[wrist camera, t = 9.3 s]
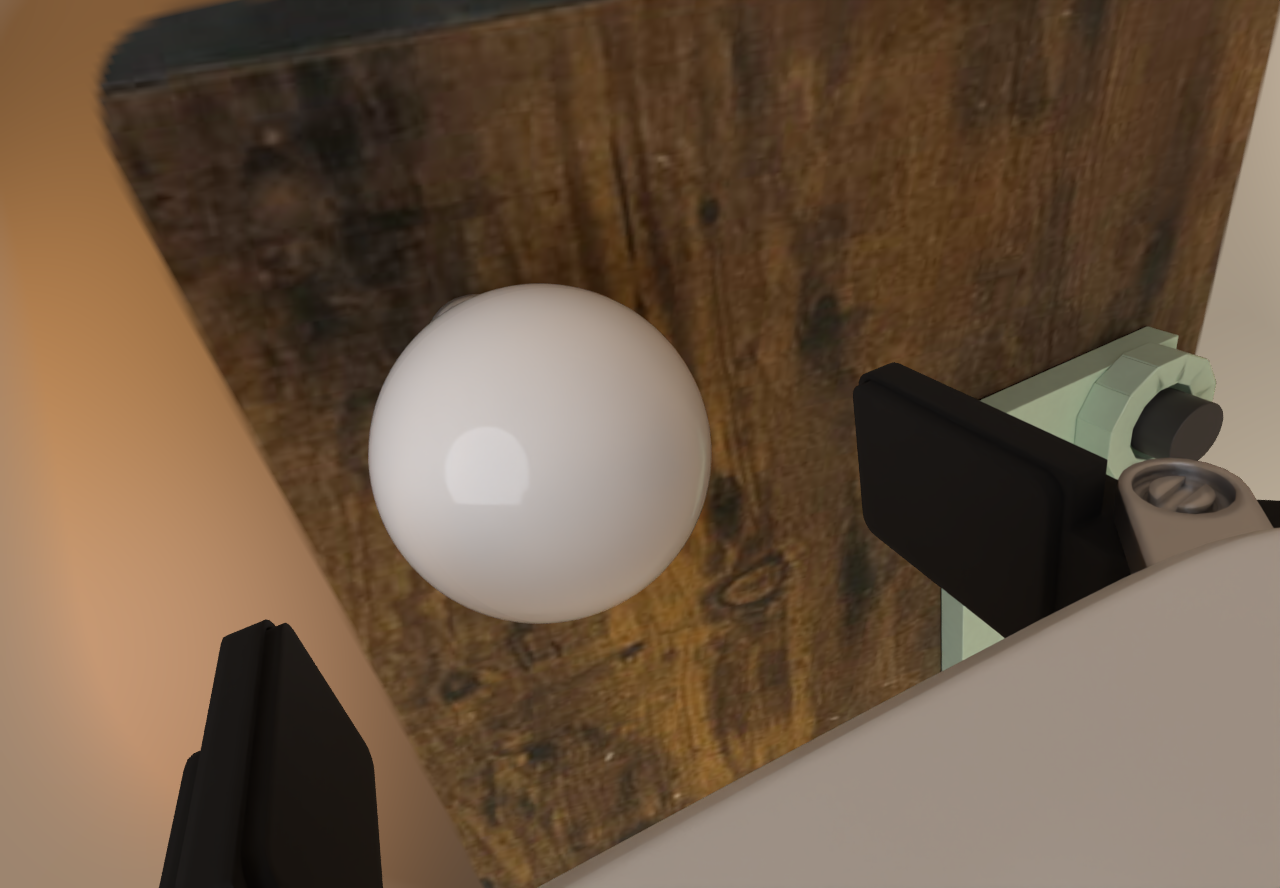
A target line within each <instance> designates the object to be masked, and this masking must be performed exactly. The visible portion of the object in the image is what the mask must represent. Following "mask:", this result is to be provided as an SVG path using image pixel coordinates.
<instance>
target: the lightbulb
mask: <svg viewBox="0 0 1280 888" xmlns="http://www.w3.org/2000/svg"><path fill="white" fill-rule="evenodd" d="M711 460H712V447H711V434H710V426H709V421H708V416H707V412H706V408H705V405H704V402H703V399H702V396H701V393H700V391H699V389H698V386H697V384H696V382H695V380H694V378H693V376H692V374H691V372H690V370H689V369H688V367H687V365H686V364H685V362H684V360H683V359H682V357H681V356H680V355H679V353H678V352H677V351H676V349H675V348H674V347H673V346H672V344H671V343H670V342H669V341H668V340H667V339H666V338H665V336H664V335H663V334H662V333H661V332H660V331H659V330H657V329H656V328H655V327H654V326H653V325H652V324H651V323H649V322H648V321H647V320H646V319H644V318H643V317H642V316H640V315H639V314H637V313H636V312H634V311H633V310H631V309H630V308H628V307H626V306H625V305H623V304H621V303H619V302H617V301H615V300H613V299H611V298H609V297H606V296H604V295H601V294H598V293H595V292H593V291H589V290H586V289H582V288H578V287H573V286H567V285H560V284H546V283H532V284H520V285H513V286H507V287H503V288H498V289H494V290H491V291H488V292H485V293H482V294H470V295H465V296H461V297H458V298H456V299H453V300H452V301H450V302H448V303H447V304H445V305H444V306H443V307H442V308H441V309H440V310H439V311H438V312H437V313H436V314H435V316H434V317H433V319H432V321H431V322H430V323H429V324H428V325H427V326H426V327H425V328H424V329H423V330H421V331H420V332H419V333H418V334H417V335H416V336H415V338H414V339H413V340H412V341H411V342H410V343H409V344H408V345H407V347H406V348H405V349H404V350H403V352H402V353H401V354H400V356H399V357H398V359H397V360H396V362H395V363H394V365H393V367H392V368H391V370H390V372H389V374H388V375H387V377H386V379H385V382H384V384H383V386H382V388H381V391H380V393H379V396H378V399H377V402H376V405H375V408H374V412H373V416H372V421H371V427H370V434H369V446H368V462H369V474H370V481H371V487H372V492H373V496H374V499H375V503H376V506H377V509H378V512H379V515H380V517H381V519H382V522H383V524H384V526H385V528H386V530H387V532H388V534H389V536H390V537H391V539H392V541H393V542H394V544H395V545H396V547H397V548H398V550H399V551H400V553H401V554H402V555H403V557H404V558H405V559H406V560H407V562H408V563H409V564H410V565H411V566H412V567H413V569H414V570H415V571H416V572H417V573H418V574H419V575H420V576H421V577H423V578H424V579H425V580H426V581H427V582H428V583H429V584H430V585H432V586H433V587H434V588H436V589H437V590H438V591H440V592H441V593H442V594H444V595H445V596H447V597H448V598H450V599H452V600H453V601H455V602H457V603H459V604H461V605H463V606H465V607H467V608H469V609H471V610H474V611H476V612H479V613H481V614H484V615H487V616H490V617H494V618H498V619H502V620H506V621H512V622H519V623H531V624H548V623H560V622H567V621H573V620H577V619H582V618H585V617H589V616H592V615H595V614H598V613H601V612H603V611H606V610H608V609H611V608H613V607H615V606H617V605H619V604H621V603H623V602H624V601H626V600H628V599H630V598H631V597H633V596H634V595H636V594H637V593H639V592H640V591H642V590H643V589H644V588H645V587H647V586H648V585H649V584H650V583H652V582H653V581H654V580H655V579H656V578H657V577H658V576H659V575H660V574H661V573H662V572H663V571H664V570H665V569H666V568H667V567H668V566H669V565H670V564H671V563H672V561H673V560H674V559H675V558H676V556H677V555H678V554H679V552H680V551H681V550H682V548H683V547H684V545H685V544H686V542H687V540H688V539H689V537H690V535H691V533H692V531H693V529H694V527H695V525H696V523H697V521H698V519H699V516H700V513H701V511H702V508H703V505H704V502H705V498H706V495H707V490H708V485H709V480H710V472H711Z"/></svg>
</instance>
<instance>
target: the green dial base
mask: <svg viewBox="0 0 1280 888" xmlns="http://www.w3.org/2000/svg"><path fill="white" fill-rule="evenodd" d="M1177 341H1178V335H1175V334H1172V333H1168V332H1165V331H1162V330H1158V329H1155V328H1151V327H1145V328H1142V329H1140V330H1138V331H1136V332H1133V333H1131V334H1129V335H1127V336H1124V337H1122V338H1120V339H1117V340H1115V341H1113V342H1111V343H1108V344H1106V345H1104V346H1102V347H1099V348H1097V349H1095V350H1093V351H1090V352H1088V353H1086V354H1084V355H1081V356H1079V357H1077V358H1074V359H1072V360H1070V361H1068V362H1065V363H1063V364H1061V365H1059V366H1056V367H1054V368H1052V369H1050V370H1047V371H1045V372H1043V373H1041V374H1038V375H1036V376H1034V377H1031V378H1029V379H1027V380H1025V381H1022V382H1020V383H1018V384H1016V385H1013V386H1011V387H1009V388H1007V389H1004V390H1002V391H1000V392H998V393H995V394H993V395H991V396H989V397H986V398H984V399H982V400H979V401H981V402H984V403H986V404H988V405H990V406H992V407H994V408H997V409H999V410H1001V411H1003V412H1005V413H1007V414H1010V415H1012V416H1014V417H1016V418H1018V419H1020V420H1023V421H1025V422H1027V423H1029V424H1031V425H1033V426H1036V427H1038V428H1040V429H1042V430H1044V431H1046V432H1049V433H1051V434H1053V435H1055V436H1057V437H1059V438H1062V439H1064V440H1066V441H1068V442H1070V443H1073V444H1075V445H1077V446H1079V447H1081V448H1083V449H1086V450H1088V451H1090V452H1092V453H1094V454H1096V455H1099V456H1101V457H1103V458H1105V459H1107V460H1108V462H1107V471H1106V474H1107V475H1109V476H1111V477H1113V478H1115V479H1117V480H1118V478H1119V476H1120V475H1121V473H1122V472H1123V470H1125V469H1126V468H1128V467H1130V466H1131V465H1133V464H1135V463H1138V462H1142V461H1145V460H1149V459H1155V458H1153V457H1151V456H1149V455H1146V454H1144V453H1142V452H1140V451H1137V450H1135V449H1134V448H1133V447H1132V446H1131V445H1130V444H1131V437H1132V431H1133V428H1134V426H1135V424H1136V422H1137V420H1138V418H1139V416H1140V414H1141V413H1142V411H1143V409H1144V407H1145V406H1146V405H1147V404H1148V403H1149V401H1150V400H1151V399H1152V398H1153V397H1154V396H1155V395H1156V394H1157V393H1158V392H1159V391H1161V390H1163V389H1165V388H1174V389H1177V390H1180V391H1182V392H1185V393H1188V394H1191V395H1194V396H1197V397H1199V398H1202V399H1205V400H1208V401H1211V402H1212V401H1213V396H1214V392H1215V387H1216V379H1215V376H1214V374H1213V371H1212V368H1211V365H1210V362H1209V360H1207V359H1206V358H1203V357H1200V356H1197V355H1193V354H1190V353H1187V352H1184V351H1180V350H1177V349H1176V347H1177ZM1003 639H1005V638H1004V637H1003V636H1001V635H1000V634H999V633H998V632H996V631H995V630H994V629H992V628H991V627H990V626H989V625H987V624H986V623H985V622H984V621H982V620H981V619H980V618H979V617H977V616H976V615H975V614H974V613H972V612H971V611H970V610H969V609H967V608H966V607H965V606H963V605H962V604H961V603H960V602H958V601H957V600H956V599H955V598H953V597H952V596H951V595H950V594H948V593H947V592H946V591H945V590H943V589H942V671H944V670H946V669H947V668H949V667H951V666H953V665H955V664H957V663H959V662H961V661H963V660H965V659H967V658H968V657H970V656H972V655H974V654H976V653H978V652H980V651H982V650H984V649H986V648H987V647H989V646H991V645H993V644H995V643H997V642H999V641H1001V640H1003Z"/></svg>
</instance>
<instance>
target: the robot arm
mask: <svg viewBox="0 0 1280 888" xmlns="http://www.w3.org/2000/svg"><path fill="white" fill-rule="evenodd" d="M853 402H854V414H855V425H856V437H857V449H858V461H859V472H860V484H861V496H862V508H863V516H864V520H865V522H866V524H867V526H868V528H869V529H870V531H871V532H872V533H873V534H874V535H875V536H877V537H878V538H879V539H880V540H882V541H883V542H884V543H885V544H887V545H888V546H889V547H890V548H892V549H893V550H894V551H895V552H897V553H898V554H899V555H900V556H902V557H903V558H904V559H906V560H907V561H908V562H909V563H911V564H912V565H913V566H914V567H916V568H917V569H918V570H919V571H921V572H922V573H923V574H924V575H926V576H927V577H928V578H929V579H931V580H932V581H933V582H934V583H936V584H937V585H938V586H940V587H941V588H942V589H943V590H945V591H946V592H947V593H948V594H950V595H951V596H952V597H953V598H955V599H956V600H957V601H958V602H960V603H961V604H962V605H963V606H965V607H966V608H967V609H969V610H970V611H971V612H972V613H974V614H975V615H976V616H977V617H979V618H980V619H981V620H982V621H984V622H985V623H986V624H987V625H989V626H990V627H991V628H992V629H994V630H995V631H996V632H998V633H999V634H1000V635H1001V636H1003V637H1004V638H1005V639H1003V640H1001V641H999V642H997V643H995V644H993V645H991V646H989V647H987V648H986V649H984V650H982V651H980V652H978V653H976V654H974V655H972V656H970V657H968V658H967V659H965V660H963V661H961V662H959V663H957V664H955V665H953V666H951V667H949V668H947V669H946V670H944V671H942V672H940V673H938V674H936V675H934V676H932V677H930V678H928V679H926V680H925V681H923V682H921V683H919V684H917V685H915V686H913V687H911V688H909V689H907V690H906V691H904V692H902V693H900V694H898V695H896V696H894V697H892V698H890V699H889V700H887V701H885V702H883V703H881V704H879V705H877V706H875V707H873V708H872V709H870V710H868V711H866V712H864V713H862V714H860V715H858V716H857V717H855V718H853V719H851V720H849V721H847V722H845V723H843V724H841V725H840V726H838V727H836V728H834V729H832V730H830V731H828V732H826V733H824V734H823V735H821V736H819V737H817V738H815V739H813V740H811V741H809V742H808V743H806V744H804V745H802V746H800V747H798V748H796V749H794V750H793V751H791V752H789V753H787V754H785V755H783V756H781V757H779V758H778V759H776V760H774V761H772V762H770V763H768V764H766V765H764V766H763V767H761V768H759V769H757V770H755V771H753V772H751V773H749V774H748V775H746V776H744V777H742V778H740V779H738V780H736V781H734V782H733V783H731V784H729V785H727V786H725V787H723V788H721V789H719V790H718V791H716V792H714V793H712V794H710V795H708V796H706V797H705V798H703V799H701V800H699V801H697V802H695V803H693V804H692V805H690V806H688V807H686V808H684V809H682V810H680V811H679V812H677V813H675V814H673V815H671V816H669V817H667V818H666V819H664V820H662V821H660V822H658V823H656V824H654V825H653V826H651V827H649V828H647V829H645V830H643V831H641V832H640V833H638V834H636V835H634V836H632V837H630V838H629V839H627V840H625V841H623V842H621V843H619V844H617V845H616V846H614V847H612V848H610V849H608V850H606V851H604V852H603V853H601V854H599V855H597V856H595V857H593V858H591V859H590V860H588V861H586V862H584V863H582V864H580V865H578V866H577V867H575V868H573V869H571V870H569V871H567V872H565V873H564V874H562V875H560V876H558V877H556V878H554V879H552V880H551V881H549V882H547V883H545V884H543V885H541V886H540V887H538V888H1280V501H1273V500H1272V501H1271V500H1256V498H1255V496H1254V495H1253V493H1252V491H1251V490H1250V488H1249V487H1248V486H1247V485H1246V484H1245V483H1244V482H1243V480H1242V479H1241V478H1239V477H1238V476H1236V475H1234V474H1233V473H1231V472H1229V471H1228V470H1226V469H1223V468H1221V467H1217V466H1215V465H1212V464H1209V463H1206V462H1200V461H1196V460H1191V459H1181V458H1159V459H1149V460H1145V461H1142V462H1138V463H1135V464H1133V465H1131V466H1130V467H1128V468H1126V469H1125V470H1123V472H1122V473H1121V475H1120V476H1119V478H1118V480H1117V479H1115V478H1113V477H1111V476H1109V475H1107V474H1106V471H1107V462H1108V460H1107V459H1105V458H1103V457H1101V456H1099V455H1096V454H1094V453H1092V452H1090V451H1088V450H1086V449H1083V448H1081V447H1079V446H1077V445H1075V444H1073V443H1070V442H1068V441H1066V440H1064V439H1062V438H1059V437H1057V436H1055V435H1053V434H1051V433H1049V432H1046V431H1044V430H1042V429H1040V428H1038V427H1036V426H1033V425H1031V424H1029V423H1027V422H1025V421H1023V420H1020V419H1018V418H1016V417H1014V416H1012V415H1010V414H1007V413H1005V412H1003V411H1001V410H999V409H997V408H994V407H992V406H990V405H988V404H986V403H984V402H981V401H979V400H977V399H975V398H973V397H971V396H968V395H966V394H964V393H962V392H960V391H958V390H955V389H953V388H951V387H949V386H947V385H945V384H942V383H940V382H938V381H936V380H934V379H932V378H929V377H927V376H925V375H923V374H921V373H919V372H916V371H914V370H912V369H910V368H908V367H906V366H903V365H901V364H899V363H895V362H894V363H890V364H887V365H885V366H882V367H880V368H878V369H875V370H873V371H870V372H868V373H865V374H863V375H862V376H861V377H860V380H859V386H856V388H855V389H854V391H853ZM159 888H383V883H382V869H381V856H380V843H379V829H378V815H377V802H376V789H375V774H374V765H373V761H372V758H371V755H370V752H369V749H368V747H367V745H366V743H365V742H364V740H363V739H362V737H361V735H360V734H359V732H358V731H357V729H356V728H355V726H354V724H353V723H352V721H351V720H350V718H349V717H348V715H347V713H346V712H345V710H344V709H343V707H342V706H341V704H340V703H339V701H338V699H337V698H336V696H335V695H334V693H333V692H332V690H331V688H330V687H329V685H328V684H327V682H326V681H325V679H324V677H323V676H322V674H321V673H320V671H319V670H318V668H317V666H316V665H315V663H314V662H313V660H312V658H311V657H310V655H309V654H308V652H307V651H306V649H305V647H304V646H303V644H302V643H301V641H300V640H299V638H298V636H297V635H296V633H295V632H294V630H293V629H292V628H291V626H290V625H289V624H287V623H283V624H281V625H278V626H275V625H274V624H273V623H272V622H271V621H270V620H263V621H261V622H259V623H257V624H254V625H251V626H249V627H246V628H244V629H242V630H239V631H237V632H234V633H232V634H229V635H227V636H226V637H224V638H223V640H222V642H221V647H220V652H219V657H218V663H217V667H216V673H215V678H214V683H213V688H212V694H211V699H210V704H209V709H208V715H207V720H206V725H205V730H204V736H203V741H202V747H201V751H198V752H196V753H194V754H193V755H192V756H191V757H190V758H189V759H188V760H187V763H186V765H185V768H184V771H183V776H182V781H181V786H180V790H179V796H178V800H177V805H176V810H175V815H174V819H173V824H172V829H171V834H170V838H169V843H168V848H167V852H166V857H165V862H164V867H163V872H162V876H161V881H160V886H159Z"/></svg>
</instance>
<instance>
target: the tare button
mask: <svg viewBox="0 0 1280 888" xmlns="http://www.w3.org/2000/svg"><path fill="white" fill-rule="evenodd" d="M1222 422H1223V411H1222V409H1221V407H1220V406H1219V405H1218V404H1216V403H1213V402H1211V401H1208V400H1205V399H1202V398H1199V397H1197V396H1194V395H1191V394H1188V393H1185V392H1182V391H1180V390H1177V389H1174V388H1165V389H1163V390H1161V391H1159V392H1158V393H1157V394H1156V395H1155V396H1154V397H1153V398H1152V399H1151V400H1150V401H1149V403H1148V404H1147V405H1146V406H1145V407H1144V409H1143V411H1142V413H1141V414H1140V416H1139V418H1138V420H1137V422H1136V424H1135V426H1134V428H1133V431H1132V437H1131V444H1130V445H1131V446H1132V447H1133V448H1134V449H1135V450H1137V451H1140V452H1142V453H1144V454H1146V455H1149V456H1151V457H1153V458H1155V459H1159V458H1181V459H1191V460H1196V461H1198V460H1199V459H1200V458H1201V457H1202V456H1204V455H1205V453H1206V452H1207V451H1208V450H1209V449H1210V447H1211V446H1212V445H1213V443H1214V442H1215V440H1216V438H1217V436H1218V434H1219V432H1220V429H1221V426H1222Z"/></svg>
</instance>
